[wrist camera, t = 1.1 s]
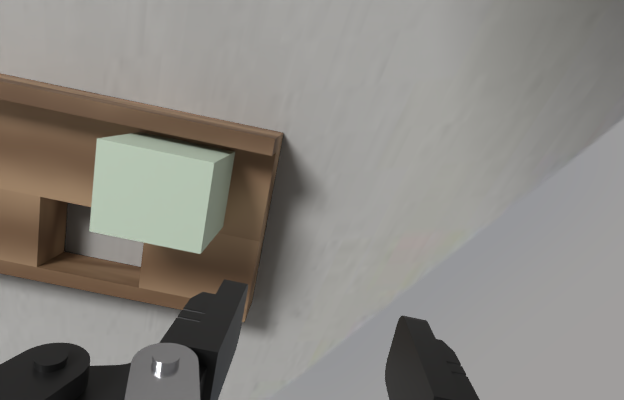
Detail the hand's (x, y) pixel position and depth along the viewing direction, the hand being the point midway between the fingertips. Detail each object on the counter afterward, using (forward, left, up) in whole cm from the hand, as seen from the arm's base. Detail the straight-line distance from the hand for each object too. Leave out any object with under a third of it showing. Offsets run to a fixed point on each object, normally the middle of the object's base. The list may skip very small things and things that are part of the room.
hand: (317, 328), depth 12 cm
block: (0, -9, -14) cm, 17 cm away
